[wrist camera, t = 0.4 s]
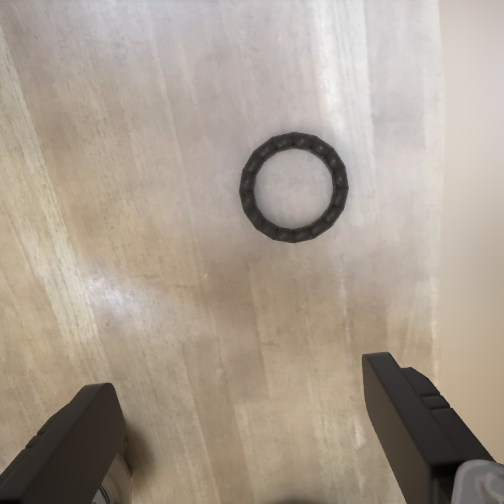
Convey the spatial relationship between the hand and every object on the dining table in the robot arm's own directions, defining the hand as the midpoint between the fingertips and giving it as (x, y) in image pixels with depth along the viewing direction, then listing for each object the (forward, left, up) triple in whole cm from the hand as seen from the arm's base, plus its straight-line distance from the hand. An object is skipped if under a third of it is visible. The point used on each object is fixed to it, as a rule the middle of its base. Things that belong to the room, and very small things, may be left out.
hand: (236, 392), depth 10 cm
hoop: (-5, +4, -19) cm, 20 cm away
